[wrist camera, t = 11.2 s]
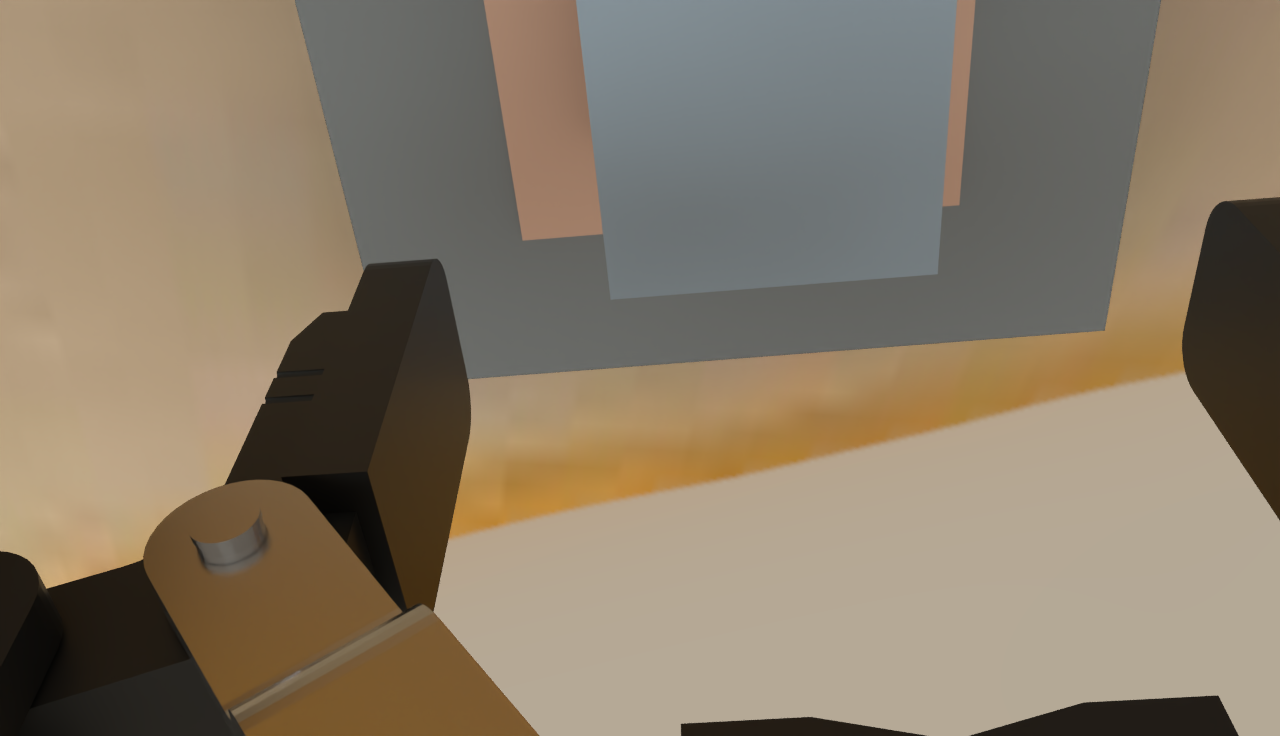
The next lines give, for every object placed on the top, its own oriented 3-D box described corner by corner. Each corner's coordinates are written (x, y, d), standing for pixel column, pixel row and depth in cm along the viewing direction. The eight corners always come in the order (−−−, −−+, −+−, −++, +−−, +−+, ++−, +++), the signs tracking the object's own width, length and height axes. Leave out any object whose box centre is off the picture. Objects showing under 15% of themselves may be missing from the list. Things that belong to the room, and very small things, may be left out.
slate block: (877, -155, 20) (962, -67, 15) (868, 121, 22) (937, 274, 17) (586, -128, 20) (571, -31, 15) (614, 142, 23) (610, 299, 18)
